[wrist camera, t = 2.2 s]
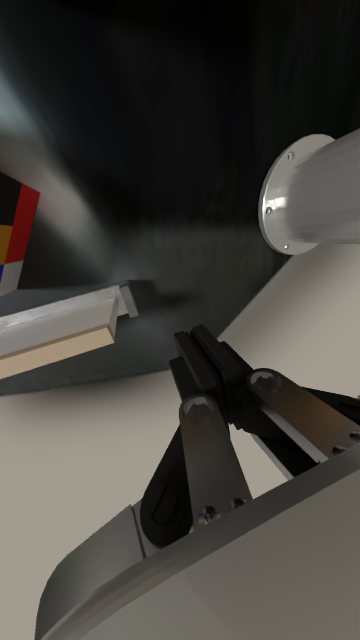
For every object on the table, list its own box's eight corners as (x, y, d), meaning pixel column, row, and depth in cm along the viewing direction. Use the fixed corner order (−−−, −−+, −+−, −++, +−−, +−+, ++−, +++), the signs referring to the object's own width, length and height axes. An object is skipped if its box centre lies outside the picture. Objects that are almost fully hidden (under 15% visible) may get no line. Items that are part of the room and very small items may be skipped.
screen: (114, 296, 21) (107, 327, 14) (118, 307, 21) (114, 342, 14) (1, 328, 19) (-76, 383, 12) (9, 339, 20) (-59, 397, 13)
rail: (128, 280, 22) (128, 285, 19) (137, 306, 24) (138, 315, 21) (-125, 349, 18) (-168, 368, 16) (-93, 375, 20) (-127, 396, 17)
